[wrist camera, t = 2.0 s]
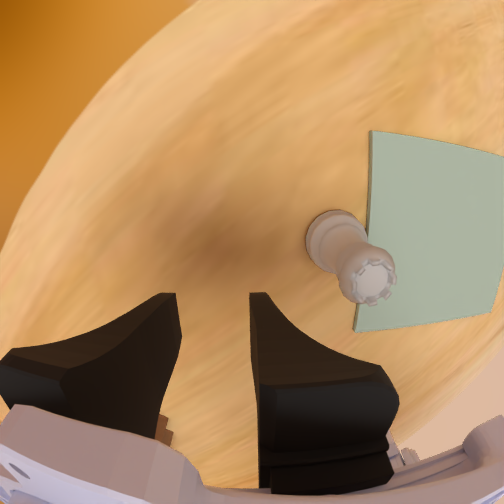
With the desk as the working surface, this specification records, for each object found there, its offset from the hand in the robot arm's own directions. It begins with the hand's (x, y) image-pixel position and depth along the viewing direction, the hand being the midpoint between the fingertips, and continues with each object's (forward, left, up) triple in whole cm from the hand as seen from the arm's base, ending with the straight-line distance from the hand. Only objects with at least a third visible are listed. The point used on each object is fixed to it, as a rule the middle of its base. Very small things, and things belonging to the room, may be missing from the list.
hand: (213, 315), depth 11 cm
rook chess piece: (0, -8, -11) cm, 13 cm away
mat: (0, -19, -10) cm, 21 cm away
